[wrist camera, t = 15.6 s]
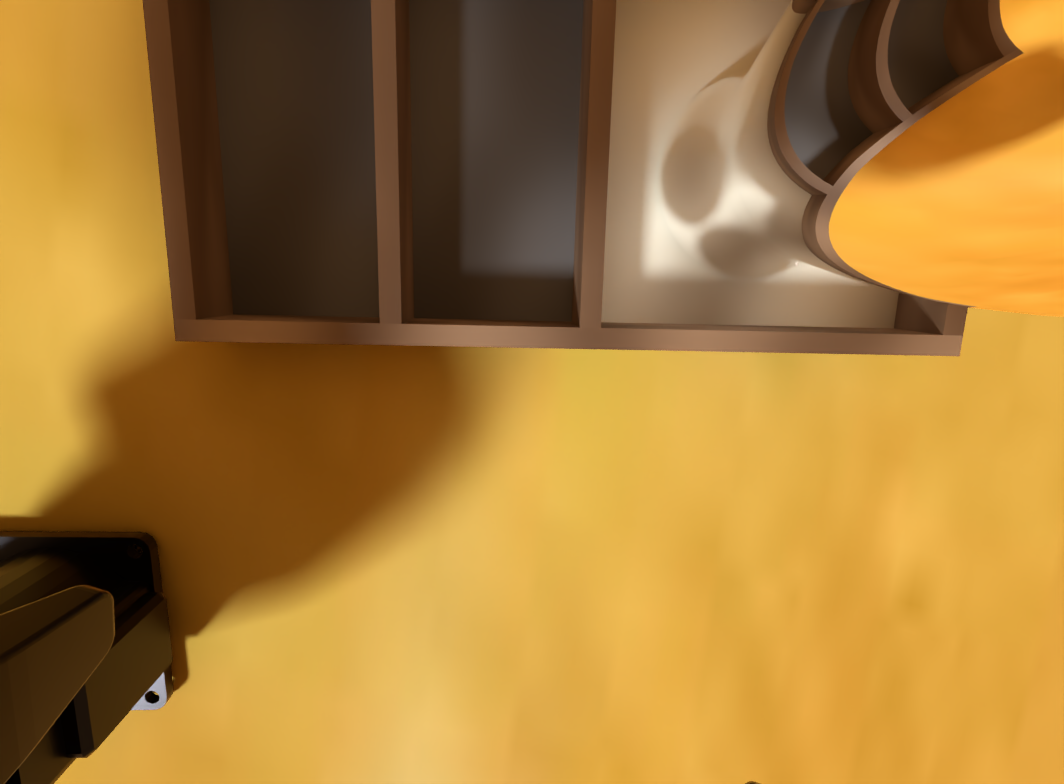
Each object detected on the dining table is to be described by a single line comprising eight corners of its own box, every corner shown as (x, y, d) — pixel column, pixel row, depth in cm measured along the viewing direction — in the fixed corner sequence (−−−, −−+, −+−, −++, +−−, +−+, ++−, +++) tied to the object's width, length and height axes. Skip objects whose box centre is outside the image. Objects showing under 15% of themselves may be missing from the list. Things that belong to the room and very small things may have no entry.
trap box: (219, 332, 18) (175, 340, 16) (187, -67, 16) (130, -128, 14) (902, 346, 19) (959, 356, 17) (958, -29, 17) (1033, -80, 15)
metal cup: (595, 176, 18) (1018, -308, 3) (767, 1, 17) (2479, -1817, 2) (741, 337, 19) (1565, 559, 4) (908, 180, 18) (2645, -231, 3)
